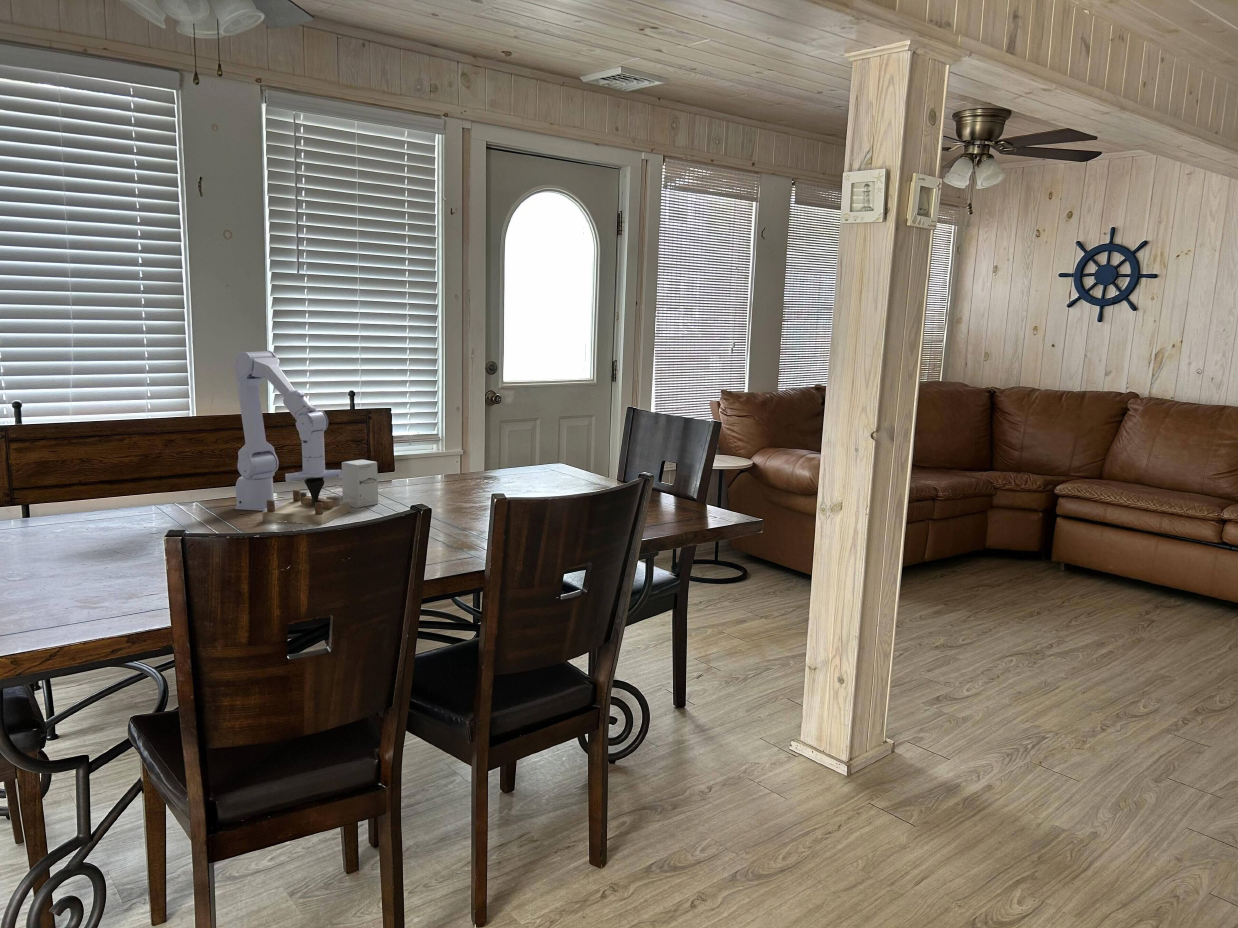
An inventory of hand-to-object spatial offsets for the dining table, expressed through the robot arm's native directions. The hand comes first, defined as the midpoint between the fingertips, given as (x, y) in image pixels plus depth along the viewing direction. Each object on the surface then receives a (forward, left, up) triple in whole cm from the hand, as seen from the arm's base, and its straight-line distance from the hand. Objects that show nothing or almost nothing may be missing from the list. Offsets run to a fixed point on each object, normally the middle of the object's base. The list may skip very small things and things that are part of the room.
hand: (315, 505), depth 246 cm
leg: (-1, +2, -1) cm, 3 cm away
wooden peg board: (-3, +1, -3) cm, 5 cm away
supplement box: (+4, +18, -4) cm, 19 cm away
